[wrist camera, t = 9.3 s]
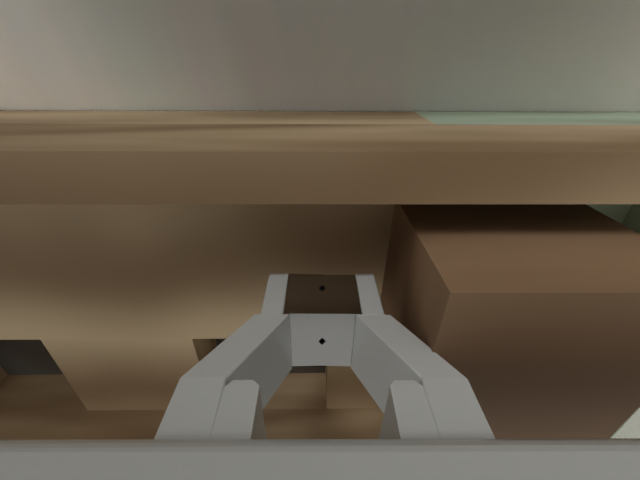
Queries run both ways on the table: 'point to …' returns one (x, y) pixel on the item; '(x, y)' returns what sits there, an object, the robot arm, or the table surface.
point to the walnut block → (524, 310)
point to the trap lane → (238, 240)
